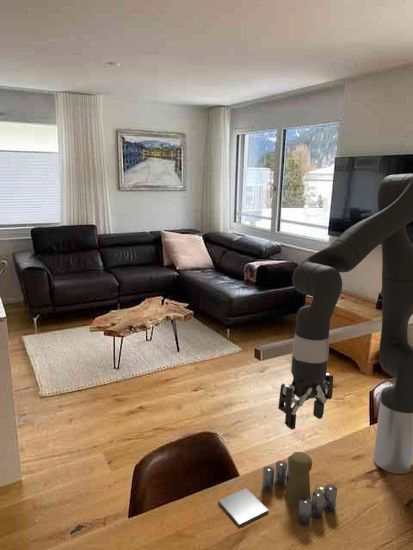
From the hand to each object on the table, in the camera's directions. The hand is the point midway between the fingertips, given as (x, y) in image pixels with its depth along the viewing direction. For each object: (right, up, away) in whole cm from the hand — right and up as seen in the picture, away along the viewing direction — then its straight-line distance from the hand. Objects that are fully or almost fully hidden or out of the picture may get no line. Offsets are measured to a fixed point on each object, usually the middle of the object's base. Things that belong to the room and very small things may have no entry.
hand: (304, 422), depth 93 cm
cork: (-1, -19, +4) cm, 20 cm away
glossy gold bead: (+6, -19, +6) cm, 21 cm away
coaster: (-14, -19, 0) cm, 24 cm away
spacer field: (-1, -19, +4) cm, 20 cm away
